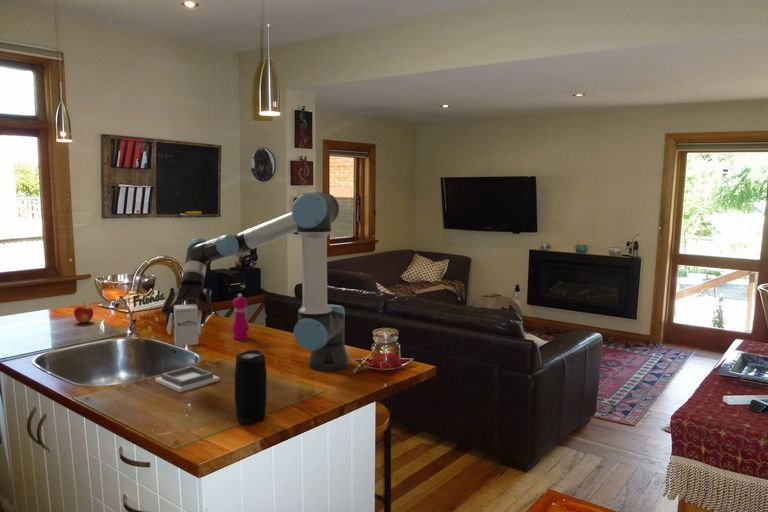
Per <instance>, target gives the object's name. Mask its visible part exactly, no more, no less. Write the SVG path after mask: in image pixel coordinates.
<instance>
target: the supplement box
mask: <svg viewBox="0 0 768 512" xmlns="http://www.w3.org/2000/svg"><path fill="white" fill-rule="evenodd" d="M198 307H199V306H198V304H196V303H190V304H181V305H174V314H173V316H174V320H173V333H174V334H173V337H174V339H173V340H174V344H175V347H178V346H187V345H188V346H189V345H199V334H198V332H197V325H198V319H199V308H198Z"/></svg>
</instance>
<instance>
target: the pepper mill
mask: <svg viewBox="0 0 768 512" xmlns="http://www.w3.org/2000/svg"><path fill="white" fill-rule="evenodd" d="M232 305H233V306H234V310H233V312H235V318H234V321H233V322H232V326H231V331H232V333H233V334H232V339H233V340H235V341H243V340H244V339H245V340H247V339H248V337H249V334H248V332H249V329H250V327H249V323H248V321H247V318H246V311H247V308H246V306H247V305H248V300H247V298H246V297H244V296H243V294H242V293H238V294H237V297H235V298H234V299H233V301H232Z"/></svg>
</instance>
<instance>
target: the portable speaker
mask: <svg viewBox="0 0 768 512" xmlns="http://www.w3.org/2000/svg"><path fill="white" fill-rule="evenodd" d="M235 359H236V361H235V367H234V368H235V369H234V378H233V380H234V403H235V404H234V407H235V414H236V419H237V420H238V423H239V424H241V425H243V426H252V425H253V423H255V422H258V421H261V422H264V421H265V419H266V417H265V416H266V409H267V365H266V358H265V354H264V353H263V352H262V351H261V350H258V349H247V350H245V351H243V352H240V353H236V357H235Z"/></svg>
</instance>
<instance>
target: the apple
mask: <svg viewBox="0 0 768 512" xmlns="http://www.w3.org/2000/svg"><path fill="white" fill-rule="evenodd" d="M73 313H74V314H73V315H74V318H75V319H76V321H77V322H79V323H80V324H82V323H88V322H90V321H91V320H92V319H93V316H94V310H93V308H92V307H91V306H90V305H86V302H84V304H81V305H78V306H76V307H75V308H74V310H73Z"/></svg>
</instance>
